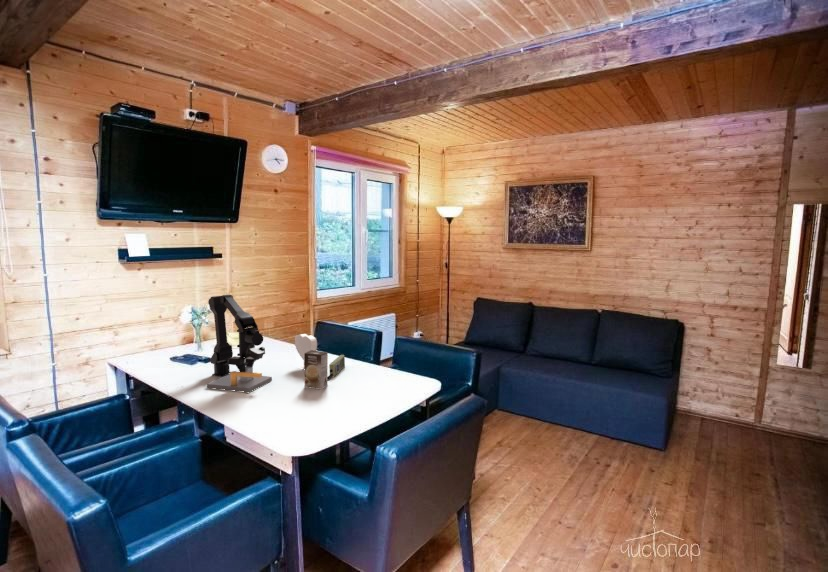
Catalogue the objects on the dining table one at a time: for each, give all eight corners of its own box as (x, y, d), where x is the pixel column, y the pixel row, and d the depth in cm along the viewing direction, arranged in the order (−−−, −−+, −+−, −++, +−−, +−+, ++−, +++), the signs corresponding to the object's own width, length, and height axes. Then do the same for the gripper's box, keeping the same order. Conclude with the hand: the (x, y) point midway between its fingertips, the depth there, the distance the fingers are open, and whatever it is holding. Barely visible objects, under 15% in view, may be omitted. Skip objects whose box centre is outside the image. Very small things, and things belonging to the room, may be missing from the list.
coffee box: (303, 387, 205) (303, 353, 203) (311, 383, 211) (310, 349, 209) (321, 389, 202) (320, 354, 200) (328, 385, 208) (328, 351, 206)
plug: (240, 381, 208) (239, 368, 207) (245, 378, 211) (245, 366, 211) (247, 381, 206) (247, 369, 206) (252, 379, 210) (252, 367, 210)
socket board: (206, 388, 202) (206, 383, 202) (232, 376, 219) (232, 372, 219) (248, 392, 196) (248, 388, 196) (271, 380, 213) (271, 376, 213)
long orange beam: (232, 383, 202) (232, 371, 201) (262, 385, 200) (262, 372, 199) (229, 385, 199) (229, 372, 199) (259, 386, 197) (259, 374, 197)
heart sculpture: (318, 370, 232) (318, 336, 230) (310, 372, 228) (310, 338, 226) (301, 364, 242) (301, 332, 241) (293, 366, 239) (293, 333, 237)
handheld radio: (345, 366, 240) (331, 380, 216) (340, 366, 241) (325, 380, 216) (345, 354, 240) (331, 367, 215) (339, 354, 240) (324, 367, 215)
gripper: (248, 348, 196) (249, 382, 198) (272, 339, 214) (272, 371, 216) (226, 346, 199) (227, 380, 201) (252, 337, 217) (252, 369, 218)
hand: (246, 375), depth 209 cm, fingers closed on plug, 4 cm apart
